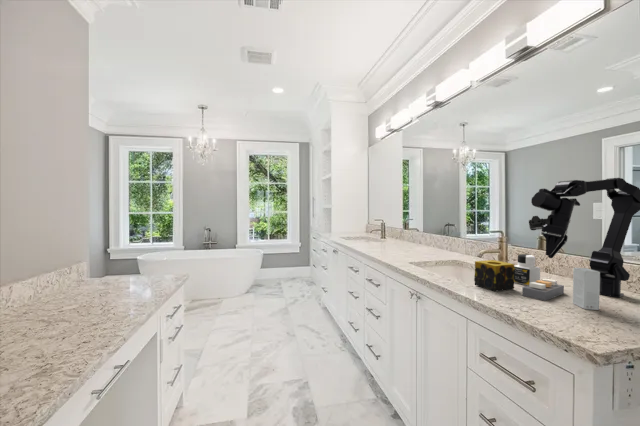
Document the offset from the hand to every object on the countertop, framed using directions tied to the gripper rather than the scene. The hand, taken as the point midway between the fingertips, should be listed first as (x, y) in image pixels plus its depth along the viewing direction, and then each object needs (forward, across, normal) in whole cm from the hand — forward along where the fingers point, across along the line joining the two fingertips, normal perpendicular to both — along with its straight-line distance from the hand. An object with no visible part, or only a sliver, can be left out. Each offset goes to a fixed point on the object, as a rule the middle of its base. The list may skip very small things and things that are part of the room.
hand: (548, 256), depth 106 cm
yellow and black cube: (+17, -4, -14) cm, 23 cm away
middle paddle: (+11, -4, 0) cm, 12 cm away
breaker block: (+14, -5, +1) cm, 14 cm away
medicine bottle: (+12, -20, -7) cm, 24 cm away
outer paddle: (+12, 0, -1) cm, 12 cm away
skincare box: (+13, +2, +13) cm, 18 cm away
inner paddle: (+10, -9, +2) cm, 13 cm away
